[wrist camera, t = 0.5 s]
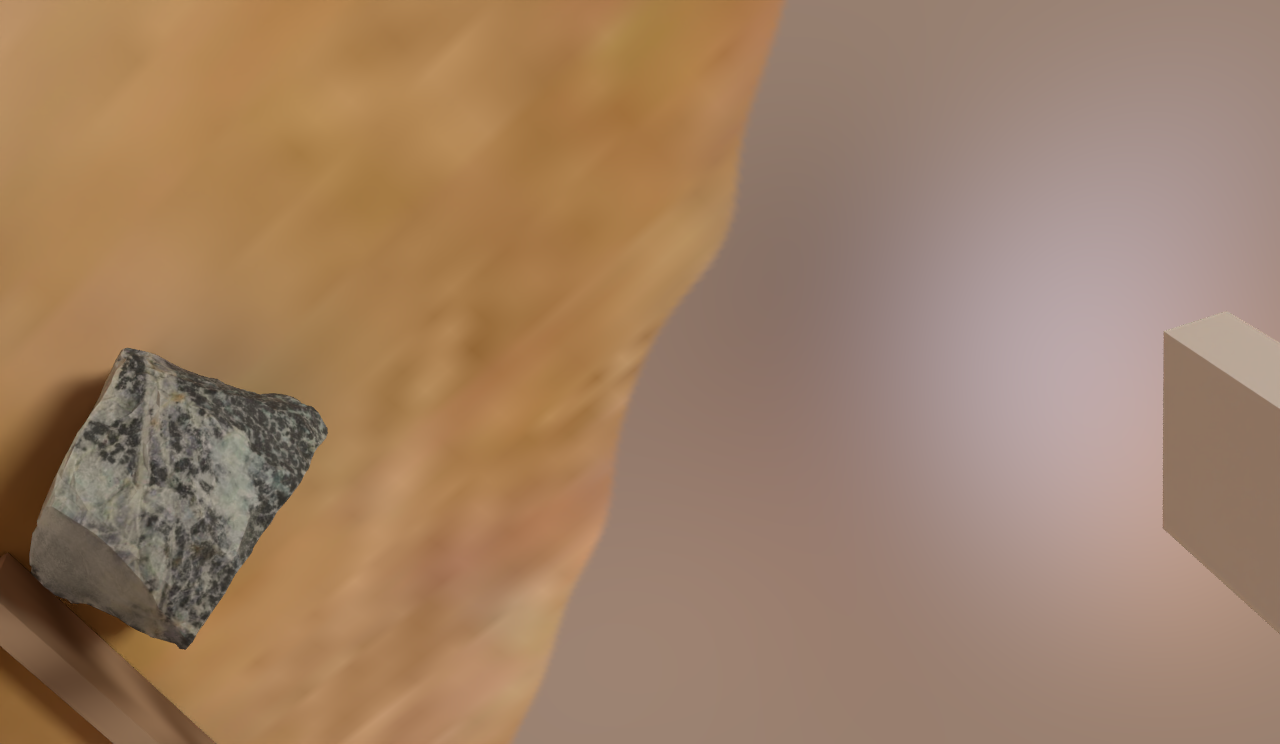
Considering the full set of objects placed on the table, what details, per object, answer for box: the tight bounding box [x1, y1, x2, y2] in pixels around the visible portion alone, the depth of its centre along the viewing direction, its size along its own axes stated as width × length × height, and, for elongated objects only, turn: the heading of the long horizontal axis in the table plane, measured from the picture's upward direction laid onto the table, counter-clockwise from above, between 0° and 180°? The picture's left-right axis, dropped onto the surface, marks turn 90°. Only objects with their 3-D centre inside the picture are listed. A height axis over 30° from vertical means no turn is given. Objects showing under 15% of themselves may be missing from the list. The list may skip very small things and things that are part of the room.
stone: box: [29, 348, 328, 650], centre depth 39 cm, size 10×10×10 cm
